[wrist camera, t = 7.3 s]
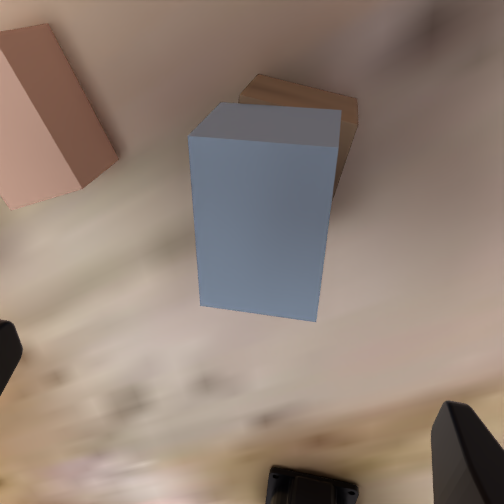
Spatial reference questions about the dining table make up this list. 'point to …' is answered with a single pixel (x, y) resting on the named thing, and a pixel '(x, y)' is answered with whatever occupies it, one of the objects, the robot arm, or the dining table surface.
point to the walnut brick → (298, 95)
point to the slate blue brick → (263, 206)
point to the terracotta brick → (45, 122)
